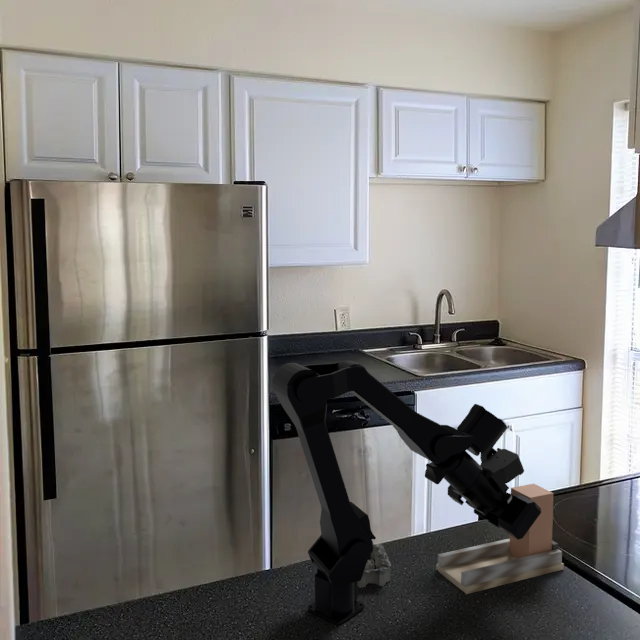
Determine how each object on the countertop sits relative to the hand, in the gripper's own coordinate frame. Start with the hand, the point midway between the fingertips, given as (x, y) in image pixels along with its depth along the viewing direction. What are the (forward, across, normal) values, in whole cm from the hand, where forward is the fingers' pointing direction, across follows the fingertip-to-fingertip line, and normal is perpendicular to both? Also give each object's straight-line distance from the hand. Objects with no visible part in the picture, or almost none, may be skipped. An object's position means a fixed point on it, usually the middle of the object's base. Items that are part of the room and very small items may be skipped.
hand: (518, 528), depth 115 cm
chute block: (+6, 0, +2) cm, 6 cm away
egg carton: (-13, +9, +23) cm, 28 cm away
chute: (+2, 0, +7) cm, 8 cm away
